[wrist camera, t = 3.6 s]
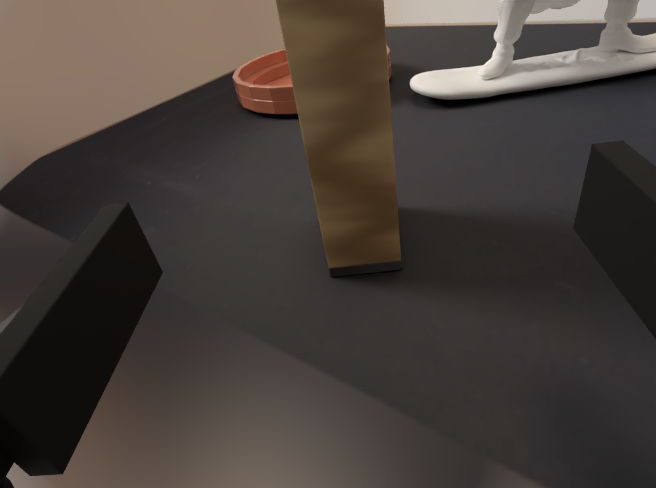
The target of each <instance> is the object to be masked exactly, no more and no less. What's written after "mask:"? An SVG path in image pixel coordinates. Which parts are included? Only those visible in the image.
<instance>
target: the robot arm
mask: <svg viewBox="0 0 656 488" xmlns="http://www.w3.org/2000/svg"><path fill="white" fill-rule="evenodd" d="M573 229H574V230H575V231H576V233H577V234H578V235H579V237H580V238H581V239H582V241H583V242H584V244H585V245H586V246H587V248H588V249H589V250H590V252H591V253H592V254H593V256H594V257H595V258H596V260H597V261H598V262H599V264H600V265H601V266H602V268H603V269H604V270H605V272H606V273H607V274H608V276H609V277H610V278H611V280H612V281H613V282H614V284H615V285H616V286H617V288H618V289H619V290H620V292H621V293H622V294H623V296H624V297H625V298H626V300H627V301H628V302H629V304H630V305H631V307H632V308H633V309H634V311H635V312H636V313H637V315H638V316H639V317H640V319H641V320H642V321H643V323H644V324H645V325H646V327H647V328H648V329H649V331H650V332H651V333H652V335H653V336H654V337H655V339H656V167H655V166H654V165H653V164H652V163H650V162H649V161H648V160H647V159H645V158H644V157H643V156H641V155H640V154H639V153H638V152H636V151H635V150H634V149H633V148H631V147H630V146H629V145H628V144H626V143H625V142H624V141H623V140H622V141H614V142H606V143H598V144H592V147H591V151H590V156H589V160H588V165H587V169H586V174H585V178H584V183H583V187H582V192H581V196H580V201H579V205H578V210H577V214H576V219H575V223H574V228H573ZM162 273H163V272H162V270H161V268H160V266H159V264H158V261H157V259H156V257H155V255H154V253H153V251H152V249H151V247H150V245H149V243H148V241H147V239H146V237H145V235H144V233H143V231H142V229H141V227H140V225H139V223H138V221H137V219H136V217H135V215H134V213H133V211H132V209H131V207H130V205H129V203H120V204H112V205H104V206H103V208H102V209H101V210H100V211H99V213H98V214H97V215H96V216H95V218H94V219H93V220H92V221H91V222H90V224H89V225H88V226H87V227H86V229H85V230H84V231H83V232H82V234H81V235H80V236H79V237H78V239H77V240H76V241H75V242H74V243H73V245H72V246H71V247H70V248H69V250H68V251H67V252H66V253H65V255H64V256H63V257H62V258H61V259H60V261H59V262H58V263H57V264H56V266H55V267H54V268H53V269H52V271H51V272H50V273H49V274H48V276H47V277H46V278H45V279H44V280H43V282H42V283H41V284H40V285H39V287H38V288H37V289H36V290H35V292H34V293H33V294H32V295H31V297H30V298H29V299H28V300H27V301H26V303H25V304H24V305H23V306H22V307H19V308H18V309H17V310H16V311H14V312H13V313H12V314H11V315H9V316H8V317H7V318H6V319H4V320H3V321H2V322H1V323H0V488H14V487H13V485H12V483H11V481H10V480H9V479H8V478H7V477H6V475H7V473H8V472H9V470H10V468H11V466H12V465H13V463H14V462H15V463H16V464H17V465H18V466H19V467H20V468H21V469H23V470H24V471H25V472H26V473H27V474H28V475H30V476H39V475H57V474H63V473H64V471H65V469H66V467H67V464H68V463H69V461H70V459H71V457H72V455H73V453H74V450H75V448H76V447H77V445H78V443H79V441H80V438H81V436H82V434H83V432H84V430H85V428H86V426H87V424H88V422H89V420H90V418H91V416H92V414H93V412H94V410H95V408H96V406H97V404H98V402H99V400H100V398H101V396H102V394H103V392H104V390H105V388H106V386H107V384H108V382H109V380H110V378H111V376H112V374H113V372H114V370H115V368H116V366H117V364H118V362H119V360H120V358H121V356H122V354H123V352H124V350H125V348H126V345H127V343H128V341H129V339H130V337H131V335H132V333H133V331H134V329H135V327H136V325H137V323H138V321H139V319H140V317H141V315H142V313H143V311H144V309H145V307H146V305H147V303H148V301H149V299H150V297H151V295H152V293H153V291H154V289H155V287H156V285H157V283H158V281H159V279H160V277H161V275H162Z"/></svg>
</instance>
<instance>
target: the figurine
mask: <svg viewBox="0 0 656 488" xmlns="http://www.w3.org/2000/svg"><path fill="white" fill-rule="evenodd" d="M578 1H580V0H501V1H500V3H499V23H498V27H497V29H496V31H495V33H494V39H495V41H496V42H497V46H496V48H495V49H494V51H493V55H492V58H491V59H490V60H489V61H488V62H486V63H485V64H484V65H482V66H475V67H466V68H457V69H446V70H436V71H430V72H424V73H420V74H417V75H415V76H414V77H413V78H412V79H411V81H410V87H411V88H412V90H414V91H415V92H417V93H419V94H421V95H424V96H428V97H432V98H437V99H445V100H454V99H474V98H485V97H491V96H496V95H500V94H506V93H514V92H521V91H529V90H536V89H542V88H548V87H556V86H563V85H571V84H577V83H582V82H587V81H592V80H598V79H603V78H608V77H614V76H621V75H626V74H631V73H636V72H642V71H646V70H652V69H656V33H655V34H651V35H647V36H638V35H633V34H632V32H631V30H630V29H629V28H627V22H628V21H630V20H631V19H632V18H633V17H634V16H635V13H636V9H637V4H638V2H639V0H608V6H607V9H606V12H605V16H604V17H605V20H606V21H607V22H608V23H607V26H606V28H605V29H604V30H603V31H602V33H601V38H600V42H599V46H596V47H592V48H587V49H584V48H581V49H578V50H573V51H567V52H560V53H555V54H550V55H544V56H537V57H530V58H525V59H520V60H516V61H513V54H514V47H513V43H514V42H515V41H517V40H518V39H519V37H520V36H521V32H522V27H523V24H524V21H525V20H526V18H527V17H528V16H529V14H535V13H540V12H542V11H544V10H546V9H548V8H551V9H561V8H565V7H569V6H572V5H574V4H576V3H577V2H578Z"/></svg>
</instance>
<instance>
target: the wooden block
mask: <svg viewBox="0 0 656 488" xmlns="http://www.w3.org/2000/svg"><path fill="white" fill-rule="evenodd" d="M276 5H277V10H278V15H279V20H280V25H281V30H282V35H283V41H284V46H285V51H286V56H287V61H288V66H289V71H290V76H291V81H292V86H293V91H294V96H295V101H296V106H297V111H298V116H299V121H300V126H301V131H302V136H303V141H304V146H305V151H306V156H307V161H308V167H309V172H310V177H311V182H312V187H313V192H314V197H315V202H316V207H317V212H318V217H319V222H320V227H321V232H322V237H323V242H324V247H325V252H326V257H327V262H328V267H329V272H330V276H331V277H335V276H345V275H355V274H364V273H374V272H384V271H393V270H401V269H402V264H401V249H400V234H399V220H398V205H397V191H396V176H395V162H394V147H393V133H392V118H391V104H390V89H389V75H388V60H387V46H386V31H385V18H384V17H385V16H384V2H383V0H276Z"/></svg>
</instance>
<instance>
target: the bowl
mask: <svg viewBox="0 0 656 488" xmlns="http://www.w3.org/2000/svg"><path fill="white" fill-rule="evenodd" d="M386 46H387V45H386ZM387 60H388V75H389V79H390V77H391V75H392V73H391V58H390V50H389V48H388V46H387ZM233 81H234V85H235V89H236V92H237V96H238V99H239V101H240V103H241V104H242V106H243V107H244V108H247V109H249V110H252V111H254V112H260V113H269V114H298V111H297V106H296V101H295V96H294V91H293V86H292V81H291V76H290V71H289V66H288V61H287V56H286V51H285V48H284V49H280V50H277V51H274V52H271V53H268V54H265V55H262V56H260V57H257V58H255V59H253V60H251V61H249V62H247V63H245V64H244V65H242V66H241V67H239V68H238V69H237V70H236V71H235V73H234V75H233Z"/></svg>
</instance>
